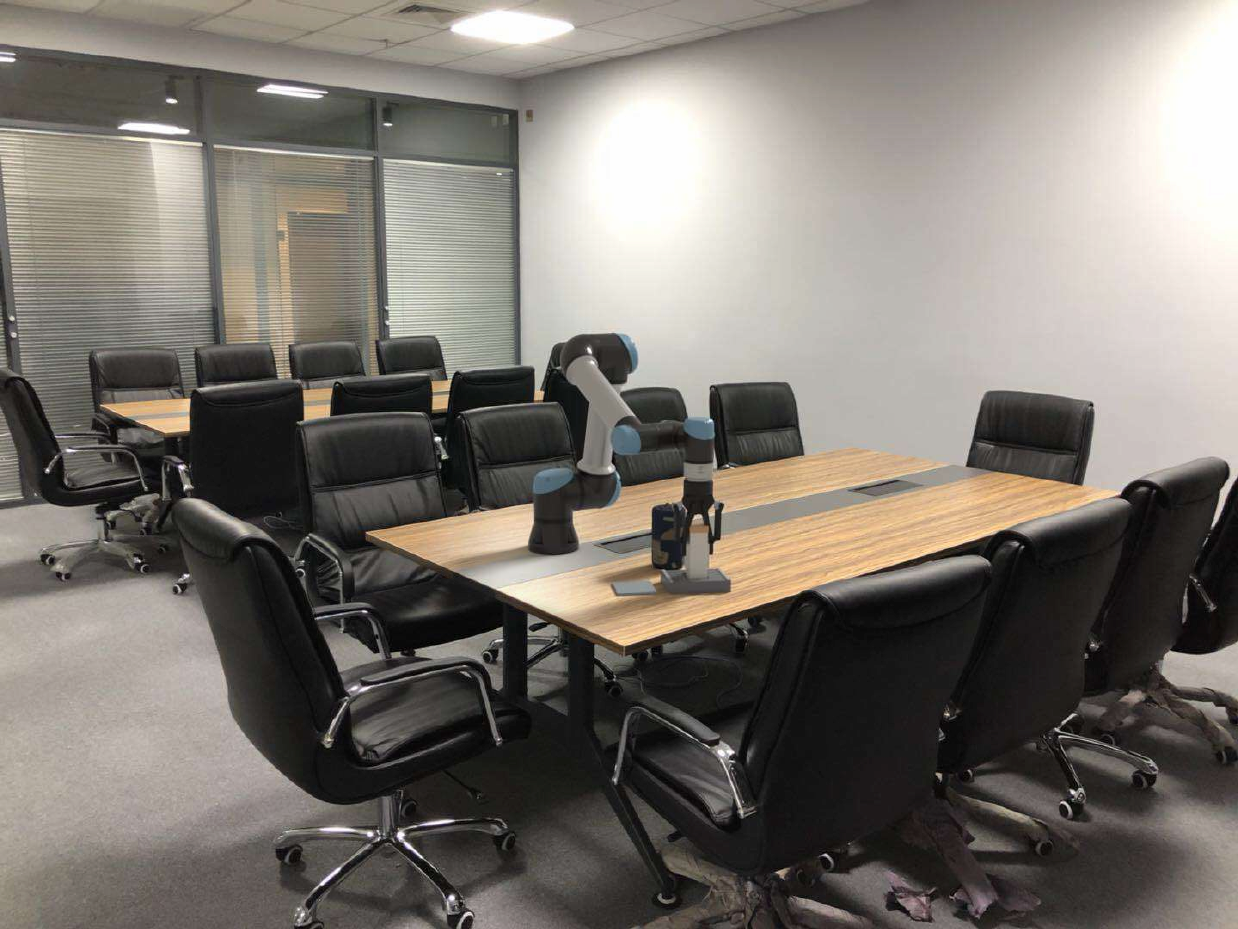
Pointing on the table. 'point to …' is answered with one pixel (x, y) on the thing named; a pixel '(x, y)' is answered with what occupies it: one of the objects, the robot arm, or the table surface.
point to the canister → (666, 537)
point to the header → (695, 582)
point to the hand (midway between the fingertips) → (696, 567)
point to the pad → (634, 588)
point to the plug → (698, 550)
